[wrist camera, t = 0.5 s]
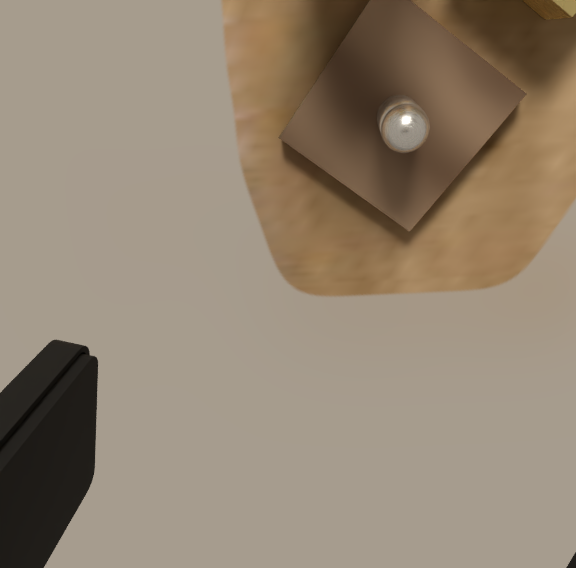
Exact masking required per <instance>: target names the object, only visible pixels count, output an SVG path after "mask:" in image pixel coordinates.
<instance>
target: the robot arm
mask: <svg viewBox="0 0 576 568" xmlns="http://www.w3.org/2000/svg"><path fill="white" fill-rule="evenodd" d="M97 378H98V360H97V358H96V357H95V356H90V355H89V349H88V347H86V346H83V345H79V344H74V343H69V342H65V341H60V340H53V341H51V342H50V343H49V344H48V345H47V346H46V347H45V348H44V349H43V350H42V351H41V352H40V353H39V354H38V355H37V356H36V357H35V358H34V359H33V360H32V361H31V362H30V363H29V364H28V365H27V366H26V367H25V368H24V369H23V370H22V371H21V372H20V373H19V374H18V375H17V376H16V377H15V378H14V379H13V380H12V381H11V382H10V383H9V385H7V386H6V388H4V390H3V391H2V392H1V393H0V568H44V566H45V564H46V563H47V561H48V559H49V557H50V556H51V554H52V552H53V550H54V549H55V547H56V545H57V543H58V542H59V540H60V538H61V537H62V535H63V533H64V531H65V530H66V528H67V526H68V524H69V523H70V521H71V519H72V517H73V516H74V514H75V512H76V511H77V509H78V507H79V505H80V504H81V502H82V500H83V498H84V497H85V495H86V493H87V491H88V489H89V487H90V484H91V482H92V479H93V475H94V468H95V440H96V410H97ZM567 568H576V553H575V554H574V556H573V558H572V559H571V561H570V563H569V564H568V566H567Z"/></svg>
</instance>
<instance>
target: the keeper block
mask: <svg viewBox="0 0 576 568" xmlns="http://www.w3.org/2000/svg"><path fill="white" fill-rule="evenodd" d="M525 95H526V93H525V92H524V91H523V90H521V89H520V88H519V87H518V86H516V85H515V84H514V83H513V82H511V81H510V80H509V79H508V78H506V77H505V76H504V75H503V74H501V73H500V72H499V71H498V70H496V69H495V68H494V67H493V66H491V65H490V64H489V63H488V62H487V61H485V60H484V59H483V58H482V57H480V56H479V55H478V54H477V53H475V52H474V51H473V50H472V49H470V48H469V47H468V46H467V45H465V44H464V43H463V42H462V41H460V40H459V39H458V38H457V37H455V36H454V35H453V34H452V33H450V32H449V31H448V30H447V29H445V28H444V27H443V26H442V25H440V24H439V23H438V22H437V21H435V20H434V19H433V18H432V17H431V16H429V15H428V14H427V13H426V12H424V11H423V10H422V9H421V8H419V7H418V6H417V5H416V4H414V3H413V2H412V1H411V0H370V1H369V2H368V4H367V5H366V7H365V8H364V10H363V11H362V13H361V14H360V16H359V17H358V19H357V20H356V22H355V23H354V25H353V26H352V28H351V29H350V31H349V32H348V34H347V35H346V37H345V38H344V40H343V41H342V43H341V44H340V46H339V47H338V49H337V50H336V52H335V53H334V55H333V56H332V58H331V59H330V61H329V62H328V64H327V65H326V67H325V68H324V70H323V72H322V73H321V75H320V76H319V78H318V79H317V81H316V82H315V84H314V85H313V87H312V88H311V90H310V91H309V93H308V94H307V96H306V97H305V99H304V100H303V102H302V103H301V105H300V106H299V108H298V109H297V111H296V112H295V114H294V115H293V117H292V118H291V120H290V121H289V123H288V124H287V126H286V127H285V129H284V130H283V132H282V133H281V135H280V136H279V138H280V139H281V140H282V141H284V142H285V143H286V144H288V145H289V146H291V147H292V148H293V149H295V150H296V151H298V152H299V153H300V154H302V155H303V156H305V157H306V158H307V159H309V160H310V161H312V162H313V163H314V164H316V165H317V166H319V167H320V168H321V169H323V170H324V171H326V172H327V173H328V174H330V175H331V176H333V177H334V178H335V179H337V180H338V181H340V182H341V183H342V184H344V185H345V186H346V187H348V188H349V189H351V190H352V191H353V192H355V193H356V194H358V195H359V196H360V197H362V198H363V199H365V200H366V201H367V202H369V203H370V204H372V205H373V206H374V207H376V208H377V209H379V210H380V211H381V212H383V213H384V214H386V215H387V216H388V217H390V218H391V219H393V220H394V221H395V222H397V223H398V224H400V225H401V226H402V227H404V228H405V229H406V230H408V231H409V232H410V231H411V229H412V228H413V227H414V226H415V225H416V224H417V222H418V221H419V220H420V219H421V218H422V217H423V215H424V214H425V213H426V212H427V211H428V209H429V208H430V207H431V206H432V205H433V204H434V202H435V201H436V200H437V199H438V198H439V197H440V195H441V194H442V193H443V192H444V191H445V190H446V188H447V187H448V186H449V185H450V184H451V182H452V181H453V180H454V179H455V178H456V177H457V175H458V174H459V173H460V172H461V171H462V170H463V168H464V167H465V166H466V165H467V164H468V162H469V161H470V160H471V159H472V158H473V157H474V155H475V154H476V153H477V152H478V151H479V150H480V148H481V147H482V146H483V145H484V144H485V142H486V141H487V140H488V139H489V138H490V137H491V135H492V134H493V133H494V132H495V131H496V130H497V128H498V127H499V126H500V125H501V124H502V122H503V121H504V120H505V119H506V118H507V117H508V115H509V114H510V113H511V112H512V111H513V110H514V108H515V107H516V106H517V105H518V104H519V103H520V101H521V100H522V99H523V98H524V97H525Z"/></svg>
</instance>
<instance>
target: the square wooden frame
mask: <svg viewBox="0 0 576 568" xmlns="http://www.w3.org/2000/svg"><path fill="white" fill-rule="evenodd" d="M522 1H523V2H525V3H526V4H527V5H528V6H529V7H531V8H532V9H533V10H534V11H535V12H537V13H538V14H539V15H540V16H541V17H543V18H544V19H545V20H547V19H558V18H570V17H573V16H574V15H575V13H576V0H522Z"/></svg>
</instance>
